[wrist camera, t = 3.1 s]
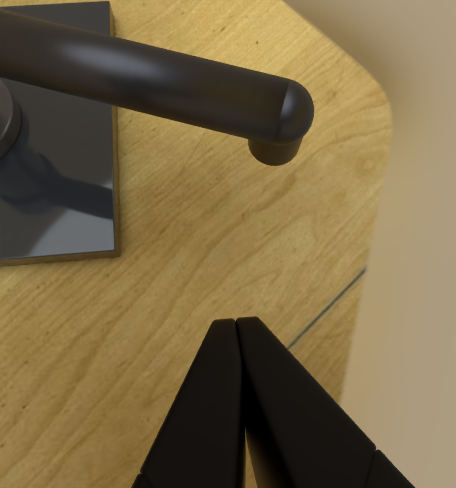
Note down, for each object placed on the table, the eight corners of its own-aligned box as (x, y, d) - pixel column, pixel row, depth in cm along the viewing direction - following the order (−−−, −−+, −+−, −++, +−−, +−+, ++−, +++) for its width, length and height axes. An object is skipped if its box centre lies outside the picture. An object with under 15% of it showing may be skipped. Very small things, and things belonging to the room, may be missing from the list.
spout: (-189, 77, 15) (-279, 14, 13) (-138, -6, 16) (-212, -82, 14) (289, 198, 15) (306, 160, 12) (311, 104, 16) (332, 47, 13)
